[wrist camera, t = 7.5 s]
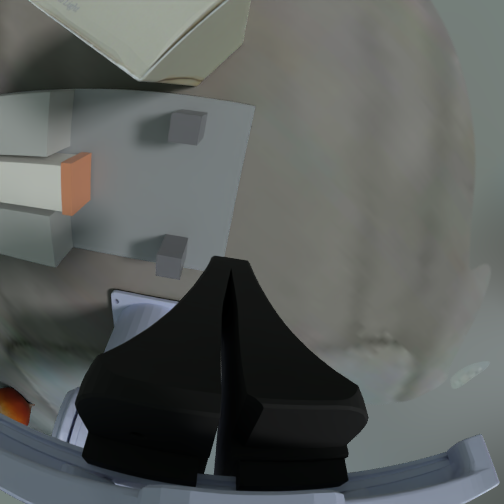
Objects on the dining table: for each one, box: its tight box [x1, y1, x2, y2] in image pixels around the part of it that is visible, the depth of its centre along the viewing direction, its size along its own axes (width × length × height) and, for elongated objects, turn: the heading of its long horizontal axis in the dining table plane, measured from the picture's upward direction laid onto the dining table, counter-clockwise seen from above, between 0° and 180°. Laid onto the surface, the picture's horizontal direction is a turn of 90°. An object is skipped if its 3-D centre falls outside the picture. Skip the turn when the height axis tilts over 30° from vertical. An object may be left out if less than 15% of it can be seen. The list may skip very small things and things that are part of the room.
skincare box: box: [28, 0, 251, 86], centre depth 10 cm, size 6×4×12 cm
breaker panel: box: [0, 89, 256, 280], centre depth 17 cm, size 12×21×4 cm, turn 78°
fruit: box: [0, 387, 35, 426], centre depth 34 cm, size 8×8×8 cm
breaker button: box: [0, 152, 92, 216], centre depth 16 cm, size 3×8×3 cm, turn 78°
